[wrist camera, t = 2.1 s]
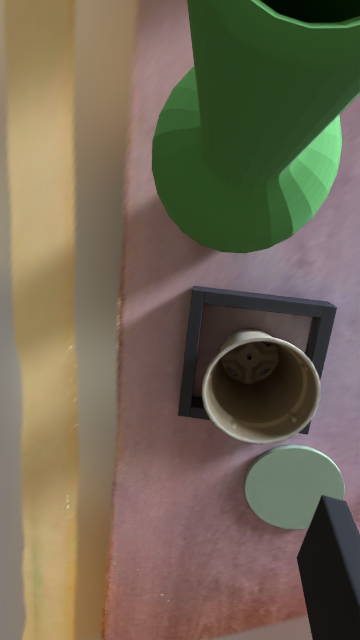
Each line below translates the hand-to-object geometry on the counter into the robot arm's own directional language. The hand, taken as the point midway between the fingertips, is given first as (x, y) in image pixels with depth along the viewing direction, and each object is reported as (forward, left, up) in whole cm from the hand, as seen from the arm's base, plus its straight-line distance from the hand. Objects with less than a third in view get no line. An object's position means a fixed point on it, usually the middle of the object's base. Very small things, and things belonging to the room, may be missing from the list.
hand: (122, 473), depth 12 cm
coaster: (+24, -2, -24) cm, 34 cm away
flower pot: (+8, +3, -24) cm, 26 cm away
